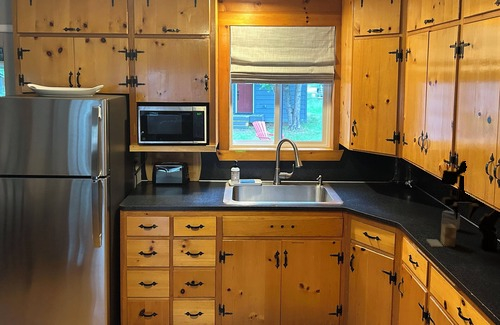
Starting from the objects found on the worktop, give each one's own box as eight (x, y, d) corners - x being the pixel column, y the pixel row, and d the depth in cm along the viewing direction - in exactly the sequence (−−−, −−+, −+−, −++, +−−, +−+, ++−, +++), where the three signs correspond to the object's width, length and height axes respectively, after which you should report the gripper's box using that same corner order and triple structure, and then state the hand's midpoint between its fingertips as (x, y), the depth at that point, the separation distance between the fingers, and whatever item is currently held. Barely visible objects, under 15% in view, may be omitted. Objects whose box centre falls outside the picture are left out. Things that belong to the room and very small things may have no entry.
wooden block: (451, 242, 266) (452, 224, 265) (455, 246, 260) (456, 227, 259) (440, 242, 266) (441, 223, 265) (443, 246, 261) (445, 227, 259)
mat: (437, 240, 268) (437, 239, 268) (443, 247, 259) (443, 246, 259) (426, 240, 269) (426, 239, 269) (431, 246, 259) (432, 245, 259)
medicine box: (440, 227, 291) (441, 211, 289) (444, 226, 294) (446, 210, 292) (455, 231, 285) (456, 214, 284) (459, 229, 288) (460, 212, 287)
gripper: (479, 183, 266) (477, 215, 269) (439, 182, 267) (437, 214, 269) (488, 188, 255) (485, 222, 258) (446, 187, 256) (444, 220, 258)
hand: (462, 219), depth 261 cm, fingers open, 5 cm apart
